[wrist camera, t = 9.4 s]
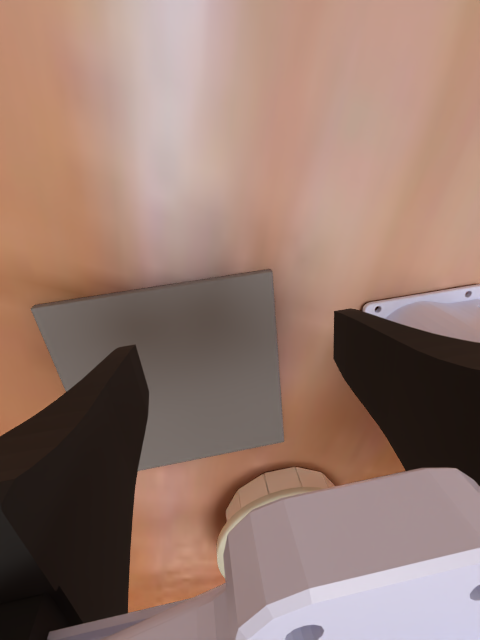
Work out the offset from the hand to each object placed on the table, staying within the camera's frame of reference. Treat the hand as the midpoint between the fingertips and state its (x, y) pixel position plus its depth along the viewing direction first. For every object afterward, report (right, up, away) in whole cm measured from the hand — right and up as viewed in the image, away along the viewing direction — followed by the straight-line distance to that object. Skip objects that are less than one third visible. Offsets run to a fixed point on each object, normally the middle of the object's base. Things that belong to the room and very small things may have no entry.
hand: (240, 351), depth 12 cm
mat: (-5, -3, +12) cm, 14 cm away
